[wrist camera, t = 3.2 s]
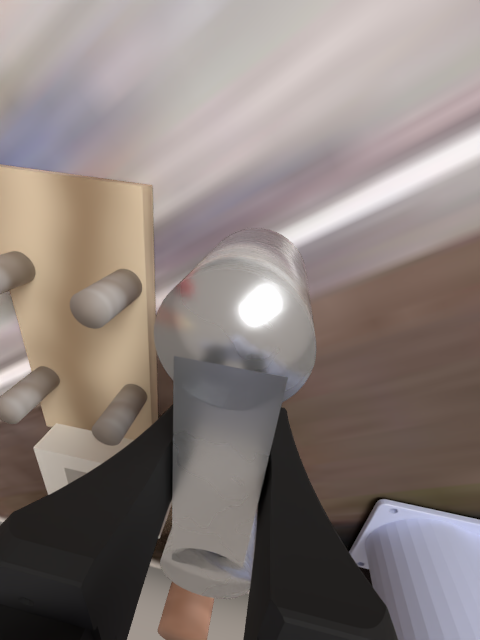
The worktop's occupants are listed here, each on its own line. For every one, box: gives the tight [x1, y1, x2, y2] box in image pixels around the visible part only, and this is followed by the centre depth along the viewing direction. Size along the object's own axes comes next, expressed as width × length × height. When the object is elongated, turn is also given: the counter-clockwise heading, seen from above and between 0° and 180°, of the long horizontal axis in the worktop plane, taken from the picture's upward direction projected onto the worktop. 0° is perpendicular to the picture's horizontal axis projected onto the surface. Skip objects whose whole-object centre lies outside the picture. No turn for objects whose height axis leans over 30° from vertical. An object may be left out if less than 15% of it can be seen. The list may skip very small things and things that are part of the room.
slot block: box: [34, 423, 172, 539], centre depth 21 cm, size 8×7×3 cm
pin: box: [158, 582, 214, 640], centre depth 21 cm, size 3×3×7 cm
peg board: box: [0, 165, 158, 446], centre depth 15 cm, size 8×16×4 cm, turn 173°
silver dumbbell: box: [154, 228, 316, 599], centre depth 12 cm, size 15×4×5 cm, turn 173°
